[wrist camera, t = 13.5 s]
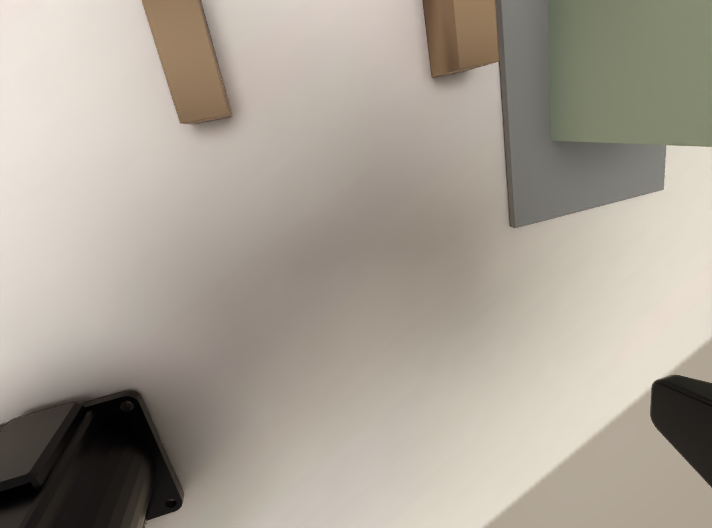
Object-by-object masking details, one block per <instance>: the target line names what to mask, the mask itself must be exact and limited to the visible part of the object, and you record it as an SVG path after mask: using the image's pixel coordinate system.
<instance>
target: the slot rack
mask: <svg viewBox="0 0 712 528" xmlns="http://www.w3.org/2000/svg"><path fill="white" fill-rule="evenodd" d="M142 3H143V6H144V9H145V13H146V16H147V19H148V22H149V25H150V28H151V32H152V35H153V38H154V41H155V44H156V48H157V51H158V54H159V57H160V60H161V64H162V67H163V70H164V73H165V76H166V79H167V83H168V86H169V89H170V92H171V95H172V99H173V102H174V105H175V108H176V111H177V114H178V118H179V121H180V123H184V124H195V123H200V122H205V121H210V120H216V119H221V118H226V117H231V116H232V113H231V110H230V106H229V102H228V99H227V95H226V91H225V88H224V84H223V80H222V77H221V73H220V69H219V66H218V62H217V58H216V55H215V51H214V47H213V44H212V40H211V36H210V33H209V29H208V25H207V22H206V18H205V14H204V11H203V7H202V3H201V0H142ZM423 5H424V14H425V22H426V31H427V39H428V48H429V57H430V65H431V74H432V77H437V76H442V75H447V74H452V73H457V72H462V71H467V70H471V69H474V68H478V67H481V66H485V65H488V64H492V63H496V62H499V51H498V36H497V21H496V6H495V0H423Z"/></svg>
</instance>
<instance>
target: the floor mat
mask: <svg viewBox="0 0 712 528" xmlns="http://www.w3.org/2000/svg"><path fill="white" fill-rule="evenodd" d="M496 15H497V30H498V45H499V60H500V75H501V91H502V106H503V121H504V136H505V151H506V166H507V181H508V196H509V212H510V226H511V227H514V228H518V227H522V226H526V225H529V224H533V223H537V222H541V221H545V220H549V219H552V218H556V217H560V216H564V215H568V214H572V213H576V212H579V211H583V210H587V209H591V208H595V207H599V206H603V205H606V204H610V203H614V202H618V201H622V200H626V199H629V198H633V197H637V196H641V195H645V194H649V193H653V192H656V191H660V190H664V173H665V156H666V145H651V144H624V143H597V142H570V141H551V117H550V77H549V37H548V0H496Z"/></svg>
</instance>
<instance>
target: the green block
mask: <svg viewBox="0 0 712 528" xmlns="http://www.w3.org/2000/svg"><path fill="white" fill-rule="evenodd" d="M548 37H549V77H550V117H551V141H570V142H597V143H624V144H651V145H678V146H706V147H712V0H548Z"/></svg>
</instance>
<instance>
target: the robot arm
mask: <svg viewBox="0 0 712 528" xmlns="http://www.w3.org/2000/svg"><path fill="white" fill-rule="evenodd" d="M124 401H129V402H132V404H133V405H132V406H127V405H125V404H124V403H123V402H124ZM650 416H651V420H652V422H653V424H654V425H655V427H656V428H657V429H658V430H659V431H660V433H661V434H662V435H663V436H664V437H665V438H666V439H667V440H668V441H669V442H670V443H671V444H672V445H673V446H674V448H675V449H676V450H677V451H678V452H679V453H680V454H681V455H682V456H683V457H684V458H685V459H686V460H687V462H688V463H689V464H690V465H691V466H692V467H693V468H694V469H695V470H696V471H697V472H698V473H699V474H700V475H701V476H702V477H703V478H704V480H705V481H706V482H707V483H708V484H709V485H710V486H711V487H712V383H709V382H705V381H701V380H697V379H692V378H688V377H684V376H680V375H670V376H667V377H664V378H661V379H658V380H656V381H654V383H653V384H652V388H651V407H650ZM183 498H184V494H183V491H182V489H181V486H180V484H179V482H178V480H177V477H176V475H175V473H174V470H173V468H172V466H171V463H170V461H169V459H168V457H167V454H166V452H165V450H164V447H163V445H162V443H161V440H160V438H159V436H158V434H157V431H156V429H155V427H154V424H153V422H152V420H151V417H150V415H149V413H148V411H147V408H146V406H145V404H144V401H143V399H142V397H141V396H140V394H139V393H137V392H135V391H131V390H130V391H123V392H120V393H116V394H113V395H109V396H106V397H102V398H99V399H95V400H91V401H88V402H84V403H80V402H72V403H68V404H64V405H61V406H57V407H54V408H50V409H47V410H43V411H39V412H36V413H32V414H29V415H25V416H22V417H18V418H14V419H12V420H10V421H9V422H8V424H6V425H2V426H0V528H145V524H146V521H147V520H150V519H153V518H156V517H159V516H162V515H165V514H168V513H171V512H174V511H176V510H178V509H179V508H180V507H181V506H182V503H183ZM169 499H174V501H170V500H169Z"/></svg>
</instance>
